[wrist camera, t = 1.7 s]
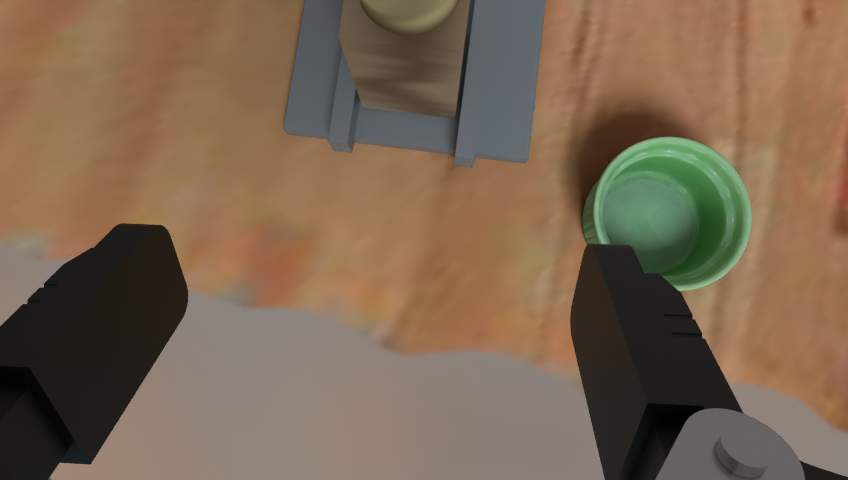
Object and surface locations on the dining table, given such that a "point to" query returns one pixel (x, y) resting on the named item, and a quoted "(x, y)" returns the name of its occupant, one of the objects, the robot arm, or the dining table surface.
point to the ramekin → (672, 210)
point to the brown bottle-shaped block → (405, 53)
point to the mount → (463, 136)
